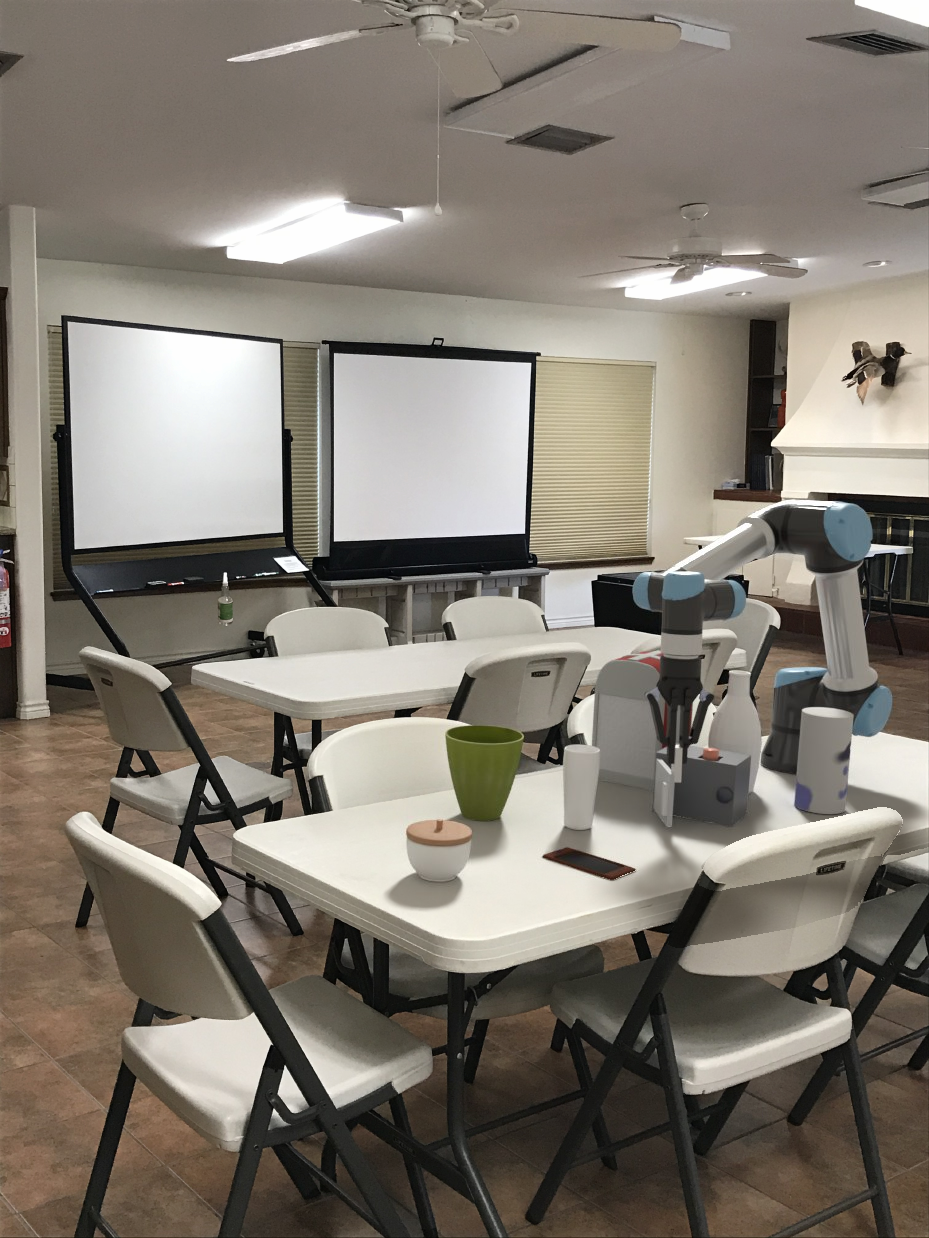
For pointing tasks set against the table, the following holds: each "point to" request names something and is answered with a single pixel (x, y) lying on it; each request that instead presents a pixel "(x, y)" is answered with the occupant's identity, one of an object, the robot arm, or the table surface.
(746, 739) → the bottle
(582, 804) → the drinking glass
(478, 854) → the table surface
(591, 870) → the smartphone
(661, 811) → the side door
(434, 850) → the lidded jar
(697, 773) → the box
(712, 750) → the latch button
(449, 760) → the flower pot
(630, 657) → the striped box
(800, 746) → the container
